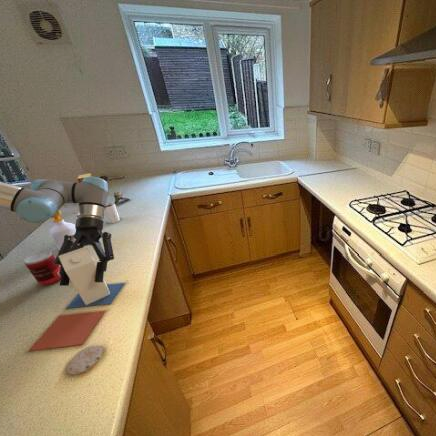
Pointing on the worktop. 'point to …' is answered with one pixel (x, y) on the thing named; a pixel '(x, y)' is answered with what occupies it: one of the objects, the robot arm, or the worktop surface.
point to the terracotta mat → (68, 331)
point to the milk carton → (84, 275)
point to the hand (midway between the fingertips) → (81, 283)
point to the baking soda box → (83, 177)
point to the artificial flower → (119, 194)
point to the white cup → (111, 213)
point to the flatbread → (84, 359)
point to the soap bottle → (61, 229)
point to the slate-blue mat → (105, 300)
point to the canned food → (43, 267)
